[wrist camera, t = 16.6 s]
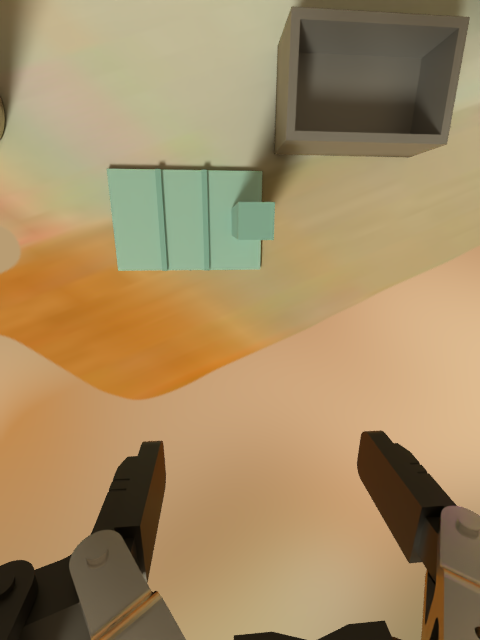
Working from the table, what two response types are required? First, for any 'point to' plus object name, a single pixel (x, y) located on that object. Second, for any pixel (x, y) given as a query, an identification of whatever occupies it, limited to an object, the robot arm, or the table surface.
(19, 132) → the table surface
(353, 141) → the tub
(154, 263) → the lid
